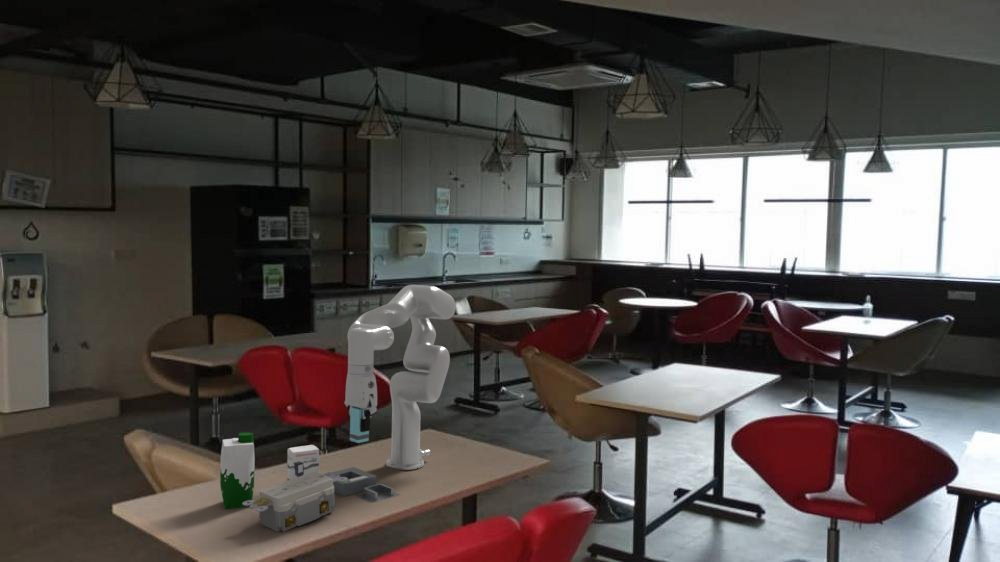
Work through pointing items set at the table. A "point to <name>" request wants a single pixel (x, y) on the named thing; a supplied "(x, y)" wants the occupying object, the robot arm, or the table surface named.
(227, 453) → the milk carton
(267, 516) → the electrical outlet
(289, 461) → the ink box
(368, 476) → the port
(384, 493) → the holster
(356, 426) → the plug
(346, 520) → the table surface
